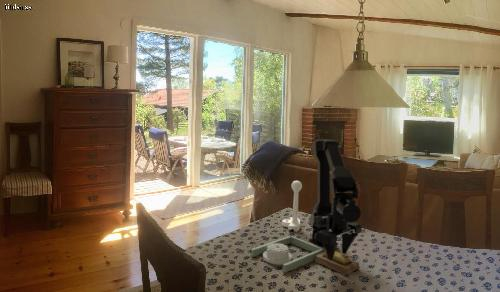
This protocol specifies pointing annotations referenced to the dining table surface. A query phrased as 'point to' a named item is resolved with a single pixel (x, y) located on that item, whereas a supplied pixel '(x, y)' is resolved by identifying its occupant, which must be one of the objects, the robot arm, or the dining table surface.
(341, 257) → the block
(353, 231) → the robot arm
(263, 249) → the green u-shaped frame
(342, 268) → the rectangular frame
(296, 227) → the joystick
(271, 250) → the mechanical component
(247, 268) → the dining table surface
